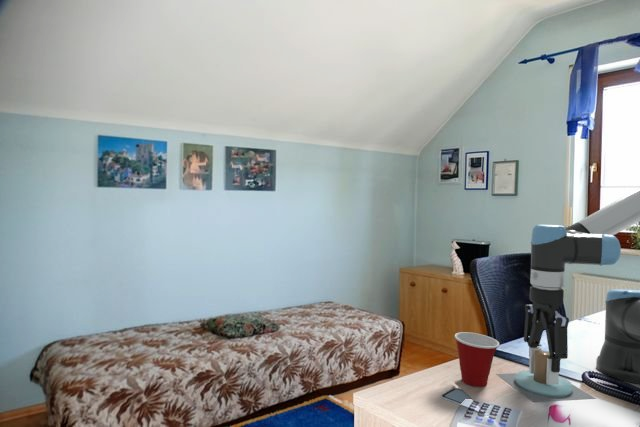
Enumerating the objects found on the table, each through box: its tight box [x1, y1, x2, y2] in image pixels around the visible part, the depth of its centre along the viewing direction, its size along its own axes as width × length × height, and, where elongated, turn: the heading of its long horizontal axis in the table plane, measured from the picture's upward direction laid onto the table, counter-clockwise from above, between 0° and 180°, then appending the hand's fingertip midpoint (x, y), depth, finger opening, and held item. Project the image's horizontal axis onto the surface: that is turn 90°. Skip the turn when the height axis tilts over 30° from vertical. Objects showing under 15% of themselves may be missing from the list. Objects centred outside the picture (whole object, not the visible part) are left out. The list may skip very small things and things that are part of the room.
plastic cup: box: [454, 331, 500, 388], centre depth 112 cm, size 11×11×12 cm
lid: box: [515, 349, 574, 397], centre depth 111 cm, size 13×13×8 cm
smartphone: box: [440, 387, 473, 406], centre depth 102 cm, size 7×1×15 cm
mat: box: [495, 372, 597, 403], centre depth 111 cm, size 16×16×1 cm
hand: (543, 377), depth 111 cm, fingers open, 6 cm apart
